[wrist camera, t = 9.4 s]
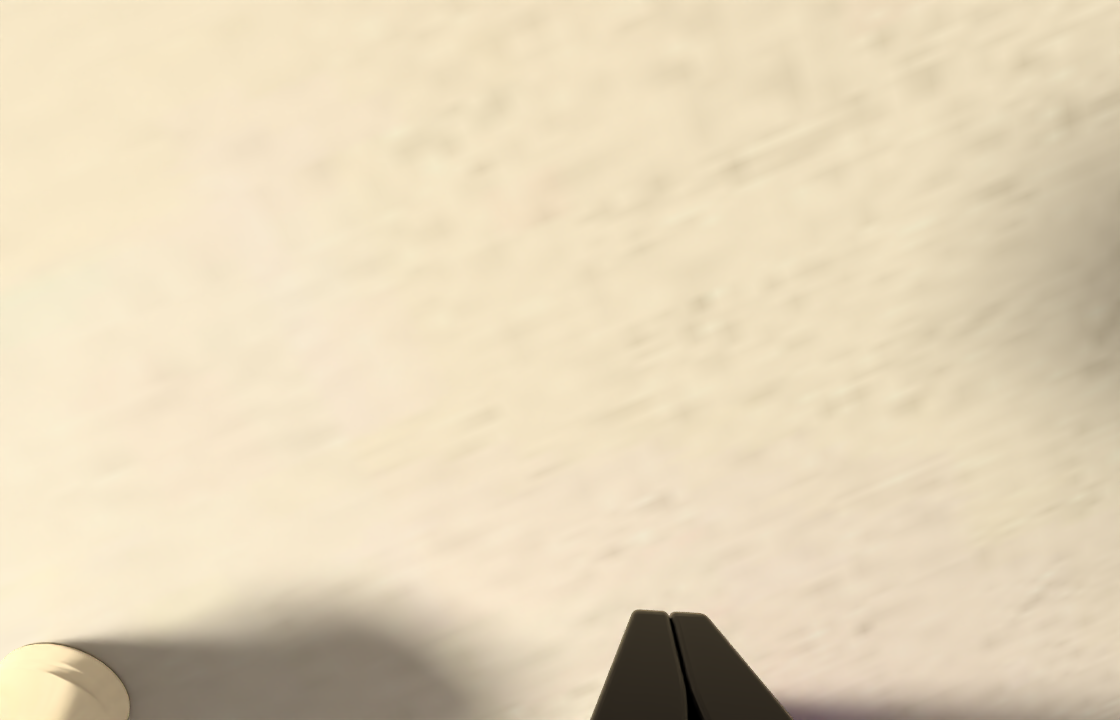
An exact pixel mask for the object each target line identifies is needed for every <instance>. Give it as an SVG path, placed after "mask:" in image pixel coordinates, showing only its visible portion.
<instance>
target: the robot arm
mask: <svg viewBox="0 0 1120 720" xmlns="http://www.w3.org/2000/svg"><path fill="white" fill-rule="evenodd" d="M590 720H794V719H793V718H792V717H791V716H790V715H789V713H788V712H787V711H786V710H785V709H784V707H783V706H782V705H781V704H780V703H779V701H778V700H777V699H776V698H775V697H774V695H773V694H772V693H771V692H770V691H769V689H768V688H767V687H766V686H765V685H764V684H763V682H762V681H761V680H760V679H759V678H758V676H757V675H756V674H755V673H754V672H753V670H752V669H751V668H750V667H749V666H748V664H747V663H746V662H745V661H744V660H743V658H742V657H741V656H740V655H739V654H738V652H737V651H736V650H735V649H734V648H733V646H732V645H731V644H730V643H729V642H728V640H727V639H726V638H725V637H724V636H723V634H722V633H721V632H720V631H719V630H718V629H717V627H716V626H715V625H714V624H713V623H712V621H711V620H710V619H709V618H708V617H707V616H706V615H704V614H701V613H690V612H673V613H671V614H670V616H669V615H668V614H667V613H666V612H665V611H655V610H635V611H634V612H633V613H632V615H631V617H630V620H629V622H628V625H627V627H626V630H625V632H624V635H623V637H622V640H621V643H620V645H619V648H618V650H617V653H616V655H615V658H614V661H613V663H612V666H611V668H610V671H609V673H608V676H607V678H606V681H605V684H604V686H603V689H602V691H601V694H600V696H599V699H598V702H597V704H596V707H595V709H594V712H593V714H592V717H591V719H590Z"/></svg>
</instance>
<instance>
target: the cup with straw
mask: <svg viewBox="0 0 1120 720" xmlns="http://www.w3.org/2000/svg"><path fill="white" fill-rule="evenodd" d="M129 711H130V702H129V697H128V694H127V691H126V689H125V687H124V685H123V684H122V682H121V680H120V679H119V678H118V677H117V676H116V675H115V673H114V672H113V671H112V670H111V669H109V668H108V667H107V666H106V665H105V664H103V663H102V662H101V661H99V660H97V659H96V658H94V657H92V656H91V655H89V654H86V653H84V652H82V651H79V650H77V649H74V648H70V647H67V646H63V645H56V644H33V645H28V646H23V647H21V648H18V649H16V650H14V651H12V652H11V653H9V654H8V655H7V656H5V658H4V659H3V660H2V661H1V662H0V720H127V719H128V716H129Z"/></svg>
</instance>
